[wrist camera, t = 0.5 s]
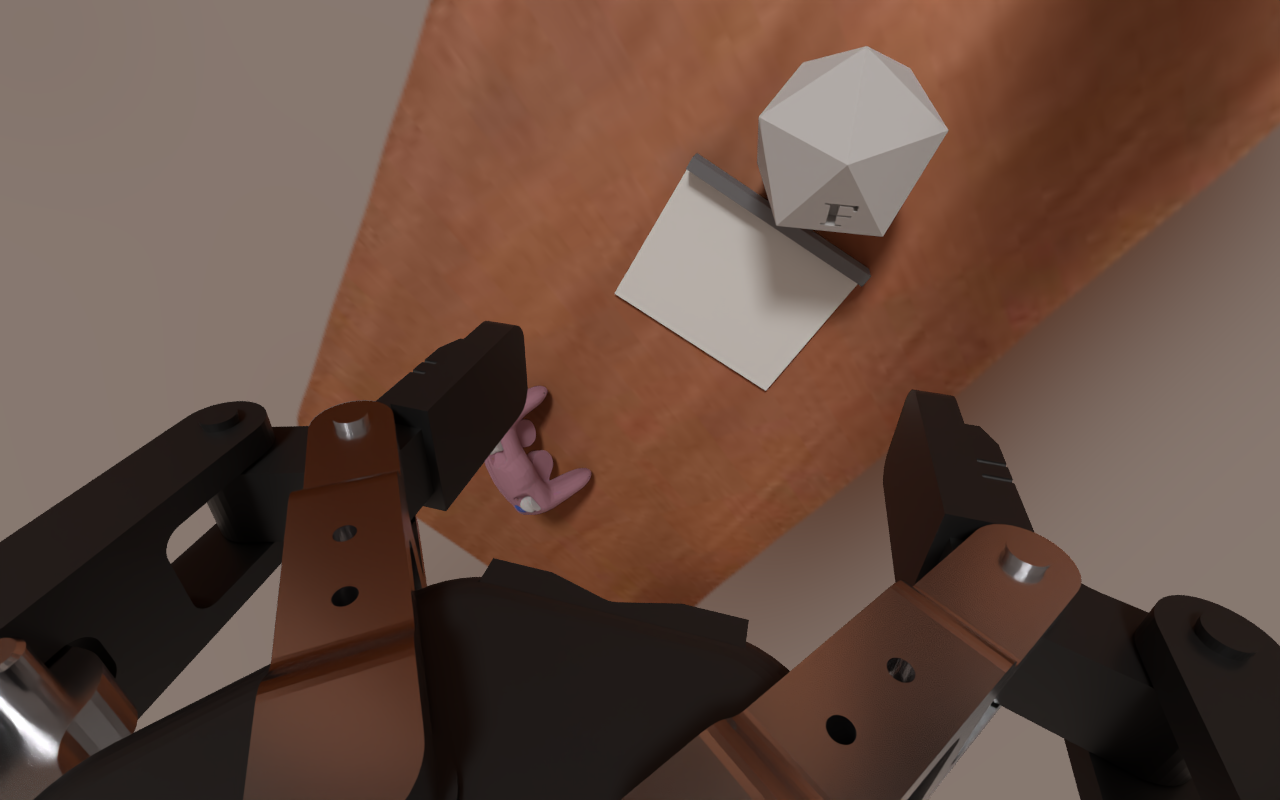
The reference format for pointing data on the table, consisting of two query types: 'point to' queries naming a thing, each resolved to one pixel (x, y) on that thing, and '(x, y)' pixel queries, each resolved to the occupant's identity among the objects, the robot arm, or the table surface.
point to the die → (846, 143)
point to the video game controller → (530, 467)
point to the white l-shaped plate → (737, 275)
